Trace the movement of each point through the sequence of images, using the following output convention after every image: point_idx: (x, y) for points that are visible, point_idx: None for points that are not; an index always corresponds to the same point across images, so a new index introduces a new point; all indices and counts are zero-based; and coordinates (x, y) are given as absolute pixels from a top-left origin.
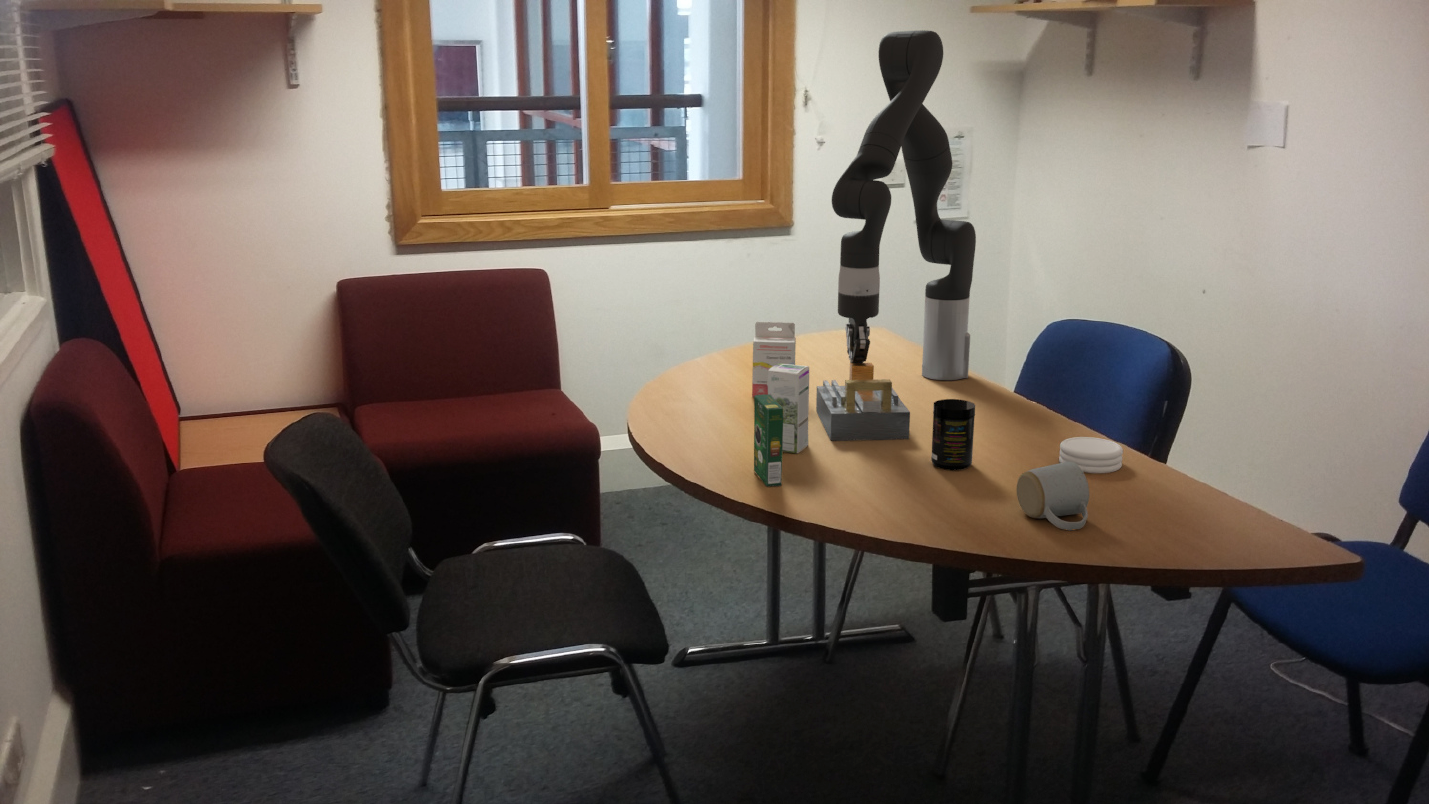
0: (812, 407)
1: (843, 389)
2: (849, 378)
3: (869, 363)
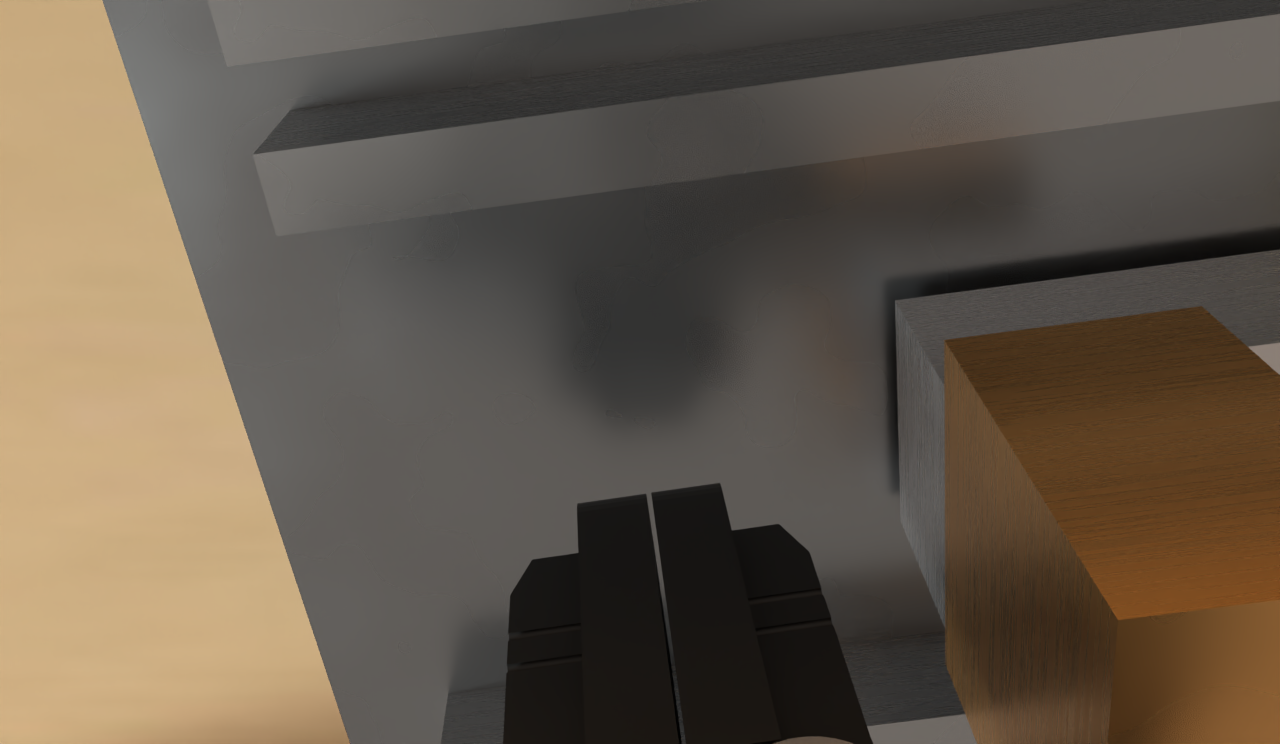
0: (287, 680)
1: None
2: (979, 738)
3: (1198, 663)
